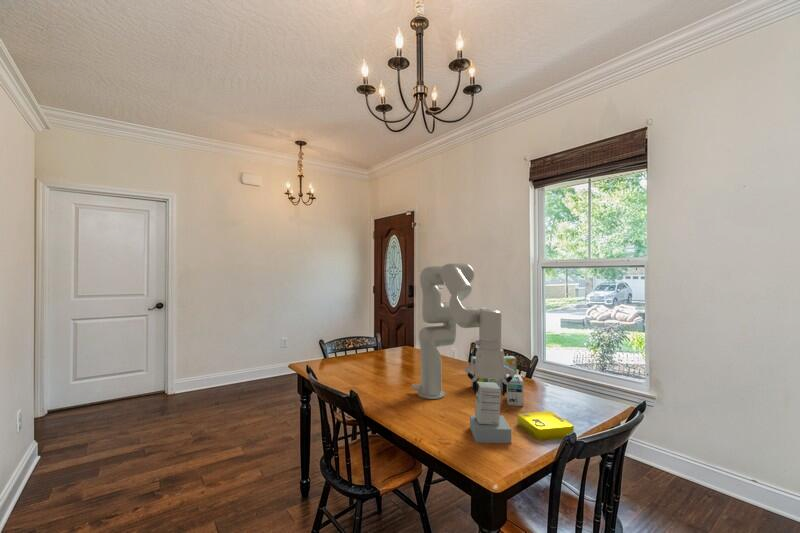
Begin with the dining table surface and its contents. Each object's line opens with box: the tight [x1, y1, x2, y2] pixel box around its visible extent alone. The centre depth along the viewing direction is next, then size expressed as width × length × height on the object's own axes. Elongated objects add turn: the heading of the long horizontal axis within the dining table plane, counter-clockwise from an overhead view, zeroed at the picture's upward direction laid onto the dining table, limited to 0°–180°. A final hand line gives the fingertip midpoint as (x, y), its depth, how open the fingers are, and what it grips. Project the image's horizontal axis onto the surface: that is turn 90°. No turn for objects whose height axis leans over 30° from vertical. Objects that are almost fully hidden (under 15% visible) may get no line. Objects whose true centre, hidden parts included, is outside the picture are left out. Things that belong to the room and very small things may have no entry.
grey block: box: [469, 414, 512, 444], centre depth 135 cm, size 12×12×5 cm
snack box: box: [470, 355, 518, 390], centre depth 188 cm, size 21×6×15 cm, turn 92°
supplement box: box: [474, 382, 502, 425], centre depth 136 cm, size 7×7×13 cm
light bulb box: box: [505, 374, 525, 407], centre depth 169 cm, size 11×7×11 cm, turn 168°
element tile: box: [516, 410, 575, 442], centre depth 139 cm, size 15×15×5 cm
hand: (489, 393), depth 136 cm, fingers open, 9 cm apart
